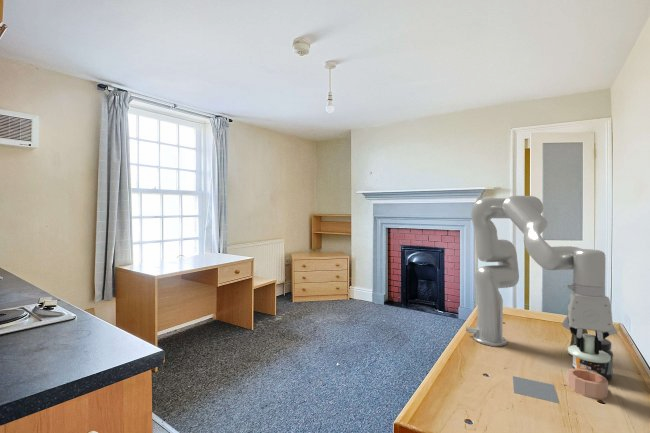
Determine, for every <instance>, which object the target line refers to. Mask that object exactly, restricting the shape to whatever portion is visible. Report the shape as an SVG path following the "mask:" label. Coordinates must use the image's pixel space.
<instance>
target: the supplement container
mask: <svg viewBox="0 0 650 433" xmlns="http://www.w3.org/2000/svg"><path fill="white" fill-rule="evenodd" d="M593 335H594V334H593ZM594 336H596V335H594ZM573 345H576V335H575V343H574V344H573ZM601 351H604V352H606V353H608V354H609V355H610V356H611V361H610V362H608V363H596V362H590V361H586V360H582V359H579V358H576V357H574V356H573V357H572V366H571V367H572V369H573V368H579V369H584V370H589V371H592V372H595V373H598V374H600V375H601V376H603V377H605V378H606V379H607V381H608V382H609V381H611V380H612V379H613V377H614V375H613V373H614V372H613V368H614V366H613V364H614V362H613V360H614V352H613V351H612V342H611V341H610V340H609V339H607V338H605V339H603V341H601Z"/></svg>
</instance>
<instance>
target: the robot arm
mask: <svg viewBox="0 0 650 433" xmlns="http://www.w3.org/2000/svg"><path fill="white" fill-rule="evenodd" d="M543 212H544V204H543V202H542V201H541V199H539V197H536V196H534V195H511V196H509V197H507V198H505V197H504V198H501V197H498V198H497V197H486V198H481V199H478V200H477V201H476V202H474V203H473V205H472V207H471V212H470V213H471V215H470V216H471V221H472V225H473V228H474V236H475V246H476V254H477V258H478V260H480V261H481V262H483V263H497V264H498V265H494V264H492V265H484V266H481V267H480V266H479V268H477V270H476V271H475V274H474V278H475V284H476V290H477V291H476V292H477V295H476V296H477V310H476V311H477V315H476V318H477V319H476V322H477V323H476V326H475V327H474V326H473V327H471V326H465V332H468V334H473V336H472V338H473V340H474V341H475V342H477V343H479V344H483V345H485V346H490V347H503V346H505V345H506V344H507V343H508V342H507V339H506V337H504V336H503V325H504V323H503V322H504V321H503V315H504V314H503V313H504V310H503V309H504V308H503V307H504V300H503V297H502V294H501V293H500V290H499V289H507V288H513V287H515V286H517V285H518V283H519V281H520V279H519V278H520V270H519V263H518V262H519V261H518V255H517V254H518V253H517V249H516V247H515V245H514V244H513V242H511V241H510V240H508V239H499V238H498V230H497V227H496V224H494V222H493V221H492V220H491V219H510V221H511V222H512V223H513V224H514V225H515V226H516V227H517V228H518V230H520V232H521V233H522V234H523V243H524V249H525V250H526V252H527V254H528V255H529V256H530V257H531V258H532V260H534V262H536V264H537V265H539V266H540V267H541V268H542V269H545V270H548V271H571V270H573V271H572V272H573V273H572V274H573V276H572V281H573V282H572V283H571V284H567V286H566V287H567V290H569V291H570V290H571V291H572V292H570V294H569V299H568V303H567V304H568V305H567V315H566V317H565V318H564V320H563V321H562V322H561V325H562V327H564V328H565V329H566V330H569V332H570V331H571V332H573V333H574V334H575V335H576V346H577V347H579V350H580V351H581V352H583V351H584V339H583V338H582V329H586V330H587V331H593V332H594V333H595V353H596V354H599V351H601V341H603V339H607V338H608V337H610V336H614V335H616V334H618V330H617V328H616V327H615V325H614V324H613V311H612V306H611V300H610V297H608V296H606V259H607V258H606V254H605V251H602V250H600V249H594V248H593V249H591V248H589V249H588V248H582V247H581V248H580V247H577V246H571V245H570V246H564V245H562V246H551V245H549V243H547V242H546V240H545V239H544V238H543V237H542V235H541V234H542V233H543V232H544V231H545V230H546V228H547V226H548V221H547V218H545V217H544V216H543V215H542V213H543ZM571 332H570V333H571Z"/></svg>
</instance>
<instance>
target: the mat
mask: <svg viewBox="0 0 650 433" xmlns="http://www.w3.org/2000/svg"><path fill="white" fill-rule="evenodd" d="M512 381H513V382H512V384H513V393H514V394H517V395H523V396H525V397H529V398H530V397H531V398H534V399H539V400H544V401H547V402H552V403H555V404H560V401H559V398H558V395H557V392H556V388H555V385H554V384H552V383H548V382H543V381H538V380H533V379H529V378H524V377H519V376H515V375H512Z"/></svg>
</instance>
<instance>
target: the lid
mask: <svg viewBox="0 0 650 433" xmlns="http://www.w3.org/2000/svg"><path fill="white" fill-rule="evenodd" d="M595 336H596V335H595ZM595 336H594V334H590V333H588V334H582V338H583V339H584V351H583V352H581V351H580V350H579V347H577V346H576V345H573V346H570V345H569V346H568V347H567V353H568V355H569V354H571V355H572V356H574V357H576V358H579V359H582V360H586V361H590V362H596V363H608V362H610V361H611V356H610V355H609V354H608V353H606V352H604V351H599V354H596V353H595ZM572 356H571V357H572Z"/></svg>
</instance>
